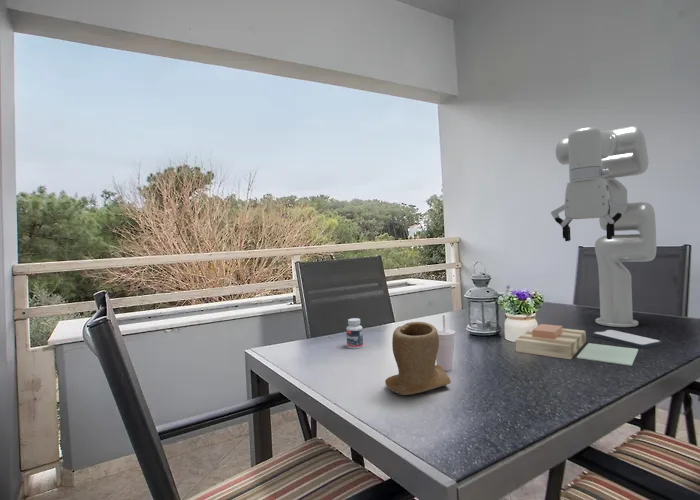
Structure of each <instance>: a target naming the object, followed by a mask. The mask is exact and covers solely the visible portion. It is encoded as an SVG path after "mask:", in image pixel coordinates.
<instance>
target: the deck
mask: <svg viewBox="0 0 700 500" xmlns="http://www.w3.org/2000/svg"><path fill="white" fill-rule="evenodd" d="M562 329H563V333H562V334H560V335H559V336H558V337H557V338H556V339H548V338H540V337H532V331H529V330H527V331H526V332H525V333H523V334H521V335H520V336H518V337H517V338H515V352H517V353H524V354H530V355H537V356H544V357H550V358H558V359H566V360H572V358H574V356H575V355H576V354H577V353H578V352H579V351H580V349H582V347H583V346H584V345H585V344H586V342H587V336H586V335H587V333H586V330H582V329H581V330H580V329H572V328H563V327H562Z"/></svg>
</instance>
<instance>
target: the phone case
mask: <svg viewBox="0 0 700 500" xmlns="http://www.w3.org/2000/svg"><path fill="white" fill-rule="evenodd" d="M592 337H594V338H596V339H600V340H605V341H607V342H608V341H609V342H614V343H617V344H622V345H626V346H630V347H635V348H637V349H648V348H652V347H653V348H654V347H658V346H662V344H663V342H662V340H659V339H653V338H651V337H645V336H641V335H636V334H632V333H629V332H624V331H623V332H622V331H619V330H614V329H604V330H600V331H594V332H592Z"/></svg>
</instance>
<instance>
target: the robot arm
mask: <svg viewBox="0 0 700 500" xmlns="http://www.w3.org/2000/svg"><path fill="white" fill-rule="evenodd" d="M555 146H556V147H555V157H556V160H557V161H558V163H559V164H561V165H563V166H564V165H568V169H569V170H568V172H569V174H568V175H569V182H567V183H566V188H565V195H564V204H563V205H561V206H559V207H557V208H556V209H554V210H553V211H551V212H550V214H551V216H552V218H553V219H554V221H555V222H556V223H557V224H559V225H560V227H562V238H563V239H564V241H565V242H570V241H571V226H569V225H570V224H571V222H572V221H573V220H584V219H585V220H586V219H598V221H599V226H600V228H601V229H602V230H603V231H606V235H603V236H600V237H598V238H597V239H596V240H595V243H594V252H595V255H596V261H597V267H598V284H599V285H598V287H599V289H598V290H599V309H600V310H599V313H600V314H599V317H597V318H596V319H595V323H596V324H597V325H601V326H606V327H613V328H614V327H615V328H634V327H637V326H639V320H636V319H633V318H634V317H633V291H632V290H633V289H632V286H633V285H632V274H631V272H630V270H629V269H628V268H627V267H626V266H625V265H624V264H623V263H627V262H628V263H629V262H630V263H631V262H632V263H635V262H637V263H639V262H640V263H643V262H644V263H645V262H651V261H653V260H655V258H656V255H657V227H656V225H657V224H656V213H655V209H654V207H653V205H652V204H651V203H649V202H645V201H643V202H642V201H639V202H630V203H629V202H628V189H627V188H626V186H625V185H624V184H623V183H622V182H621V181H619V180H618V179H617V178H624V177H633V176H638V175H643V174H644V173H645V172H647V170H648V168H649V156H648V150H647V144H646V138H645V135H644V132H643V131H642V129H641V128H640V126H637V125H631V126H625V127H618V128H615V129H609V130H600V129H599V128H598V127H582V128H578V129H575V130H573V131H571V132H570V133H569V134H568V136H567V137H565V138H561V139H560V140H559V141H558V142H557V144H556V145H555ZM562 212H564V217H565V218H564V219H562V218H561V217H560V213H562ZM623 231H624V232H625V231H626V232H627V231H629V232H630V231H637V232H638V233H633V234H631V233H629V234H616V233H615V232H623Z"/></svg>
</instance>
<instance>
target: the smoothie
mask: <svg viewBox="0 0 700 500" xmlns="http://www.w3.org/2000/svg"><path fill="white" fill-rule="evenodd" d="M436 329H437V332H438V336H439V348H438V352H437V356H436V362H435V364H436V365H439V366H441V367H443V369H444V372H449V371H452V370H453V363H454V362H453V359H454V351H455V350H454V349H455V348H454V347H455V338H456V336H457V334H456V331H455V330H453V329H451V328H450V329H449V328H446V314H442V328H436Z"/></svg>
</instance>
